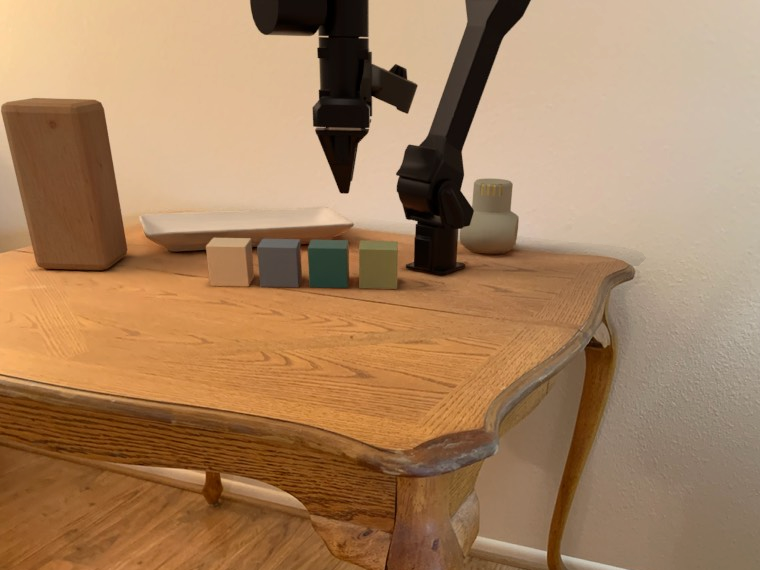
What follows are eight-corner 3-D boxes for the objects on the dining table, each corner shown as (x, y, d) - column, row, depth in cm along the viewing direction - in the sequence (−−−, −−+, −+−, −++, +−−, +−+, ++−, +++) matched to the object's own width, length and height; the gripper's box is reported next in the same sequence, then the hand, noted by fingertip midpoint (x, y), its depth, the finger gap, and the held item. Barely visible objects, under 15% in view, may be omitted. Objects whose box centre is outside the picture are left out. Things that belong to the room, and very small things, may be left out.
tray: (141, 234, 125) (137, 211, 123) (328, 225, 134) (327, 204, 132) (149, 258, 111) (145, 233, 110) (356, 246, 121) (355, 223, 119)
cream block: (254, 276, 104) (251, 238, 102) (248, 286, 100) (245, 246, 98) (217, 276, 104) (213, 237, 102) (210, 285, 100) (205, 245, 97)
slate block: (302, 277, 105) (300, 239, 102) (298, 287, 100) (296, 247, 98) (265, 277, 105) (262, 238, 102) (260, 286, 100) (256, 246, 98)
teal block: (349, 278, 105) (348, 240, 102) (347, 288, 101) (346, 248, 98) (312, 277, 105) (311, 239, 102) (309, 287, 101) (307, 247, 98)
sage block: (396, 279, 105) (397, 241, 102) (397, 289, 101) (397, 249, 98) (360, 278, 105) (360, 240, 102) (359, 288, 101) (358, 248, 98)
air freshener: (466, 241, 126) (471, 174, 120) (517, 244, 125) (523, 177, 119) (457, 256, 117) (461, 185, 111) (511, 260, 116) (517, 188, 110)
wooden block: (107, 272, 105) (77, 104, 94) (34, 270, 105) (-5, 102, 94) (130, 255, 113) (105, 99, 102) (63, 253, 113) (30, 97, 102)
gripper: (417, 39, 79) (412, 201, 88) (412, 39, 95) (409, 177, 103) (309, 36, 79) (315, 199, 88) (322, 37, 95) (326, 175, 103)
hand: (346, 187), depth 95 cm, fingers open, 9 cm apart
